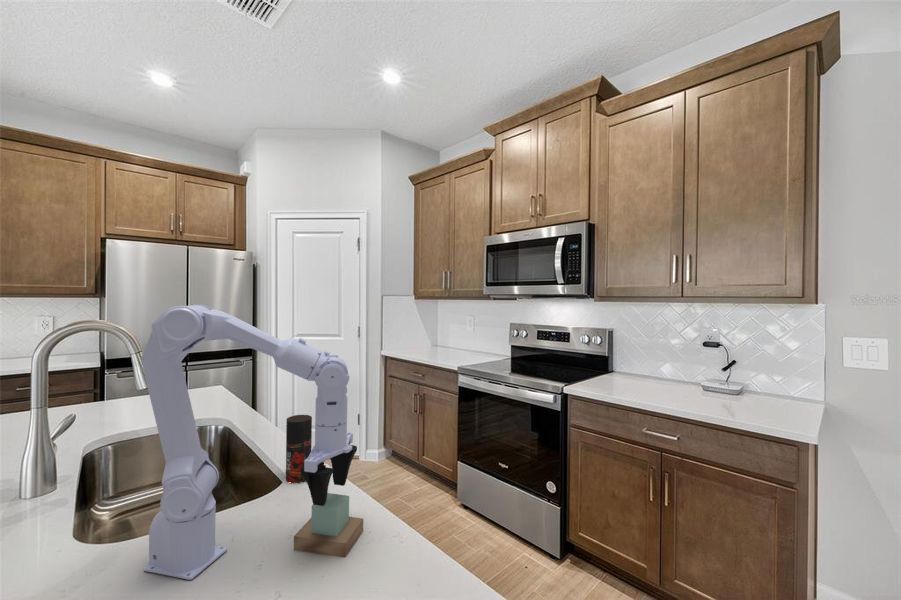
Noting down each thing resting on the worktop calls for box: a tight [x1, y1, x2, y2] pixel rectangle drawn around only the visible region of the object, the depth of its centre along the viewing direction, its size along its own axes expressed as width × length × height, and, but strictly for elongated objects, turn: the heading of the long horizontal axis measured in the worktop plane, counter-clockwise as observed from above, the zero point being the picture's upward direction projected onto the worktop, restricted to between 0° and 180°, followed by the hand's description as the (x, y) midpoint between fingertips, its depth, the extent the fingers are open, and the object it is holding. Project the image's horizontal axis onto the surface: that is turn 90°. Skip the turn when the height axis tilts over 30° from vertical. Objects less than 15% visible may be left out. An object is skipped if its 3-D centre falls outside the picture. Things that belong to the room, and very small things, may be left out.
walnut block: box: [293, 516, 364, 558], centre depth 76 cm, size 10×8×3 cm
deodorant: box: [285, 414, 313, 484], centre depth 100 cm, size 6×6×15 cm
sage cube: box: [311, 492, 350, 537], centre depth 76 cm, size 5×5×5 cm
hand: (329, 493), depth 76 cm, fingers open, 7 cm apart
